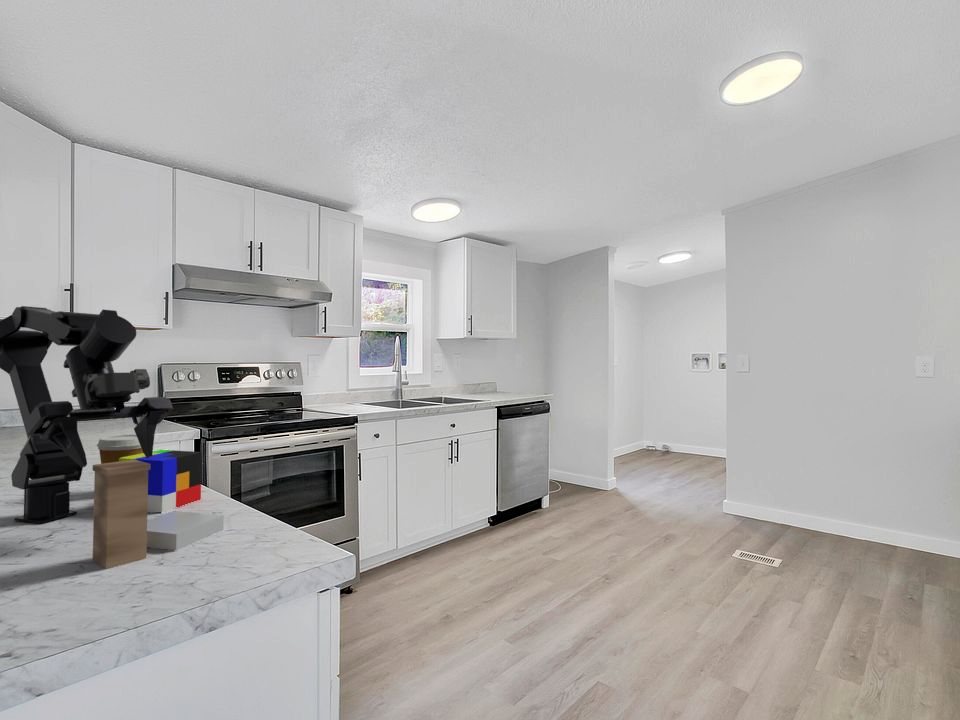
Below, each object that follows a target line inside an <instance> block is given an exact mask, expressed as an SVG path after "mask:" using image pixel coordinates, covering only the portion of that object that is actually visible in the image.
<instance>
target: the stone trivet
mask: <svg viewBox="0 0 960 720" xmlns="http://www.w3.org/2000/svg"><path fill="white" fill-rule="evenodd" d="M224 519H225V518H224V515H223V514H213V513H212V514H211V513H202V512H194V511H180V510H171V511H169V512H166V513H163V514H161V515H159V516H156V517H153V518H149V519H147V547H152V548H151V549H156V548H160V549H159V550H164V549H168V550H167V551H172V550H177V551H179V550H178V549H180V550H181V548H182V549H184V548H187V547H189V546H190V545H189V544H191V545H193V544H194V543H193V542H196V541H198V540H200V539H203V538H205V537H207V538H209V537H211V536H210V535H212V534H214V533H216V534H218V533H217V532H219V531H221V532H223V531H224ZM222 530H223V531H222ZM219 533H220V532H219ZM214 535H215V534H214ZM208 536H209V537H208ZM212 536H213V535H212ZM205 539H206V538H205ZM203 540H204V539H203ZM200 541H201V540H200ZM198 542H199V541H198ZM192 543H193V544H192ZM196 543H197V542H196ZM188 545H189V546H188ZM186 546H187V547H186ZM183 547H184V548H183Z"/></svg>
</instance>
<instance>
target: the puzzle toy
mask: <svg viewBox="0 0 960 720" xmlns="http://www.w3.org/2000/svg"><path fill="white" fill-rule="evenodd" d="M202 454H203V452H202V451H191V450H190V451H189V450H187V451H186V450H169V449H157V450H153V452H152V456H151V457H150V458H146V456H145V455H144V453H142V454H137V455H132V456H127V457H122V458H119V461H127V460H138V461H142V462H145V463H149V464H151V465H150V470H148V506H147V511H148V512H147V513H153V512H164V513H166V512H165V511H167V512H169V511H168V510H170V511H172V510H171V509H173V508H176V507H179V508H181V507H183V506H182V505H184V506H186V505H185V504H187V505H189V504H188V503H190V504H192V503H191V502H193V503H195V502H194V501H196V502H198V501H197V500H199V501H201V500H202V459H203V458H202V457H203V455H202ZM200 499H201V500H200ZM180 506H181V507H180ZM176 509H177V508H176ZM173 510H174V509H173Z"/></svg>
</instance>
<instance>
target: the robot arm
mask: <svg viewBox="0 0 960 720" xmlns="http://www.w3.org/2000/svg"><path fill="white" fill-rule="evenodd" d="M21 328H23V329H24V328H27V329H29V330H26V329H25V330H22V329H21ZM136 337H137V329H136V327H135V326H134V325H133V324H132V323H131V322H130V321H129V320H127V319H126V318H124V317H122V316H120V315H119V314H118V312H117V310H114V309H113V310H112V309H102V310H101V311H100V312H99V314H98V313H97V314H96V313H86V312H72V311H64V310H63V311H55V310H52V309H48V308H47V307H38V306H37V307H36V306H24V305H21V306H20V307H19V306H17V307H15V308H14V310H13V311H12V314H10V315H8V316H7V317H5V318H3V319H1V320H0V370H3V371H4V372H5V373H7V374H8V375H9V377H10V381H11V384H12V388H13V392H14V395H15V398H16V402H17V405H18V409H19V412H20V416H21V420H22V423H23V426H24V429H25V433H26V437H27V440H26V442H25V444H24V445H23V448H22V449H21V451H20V453H19V456H20V457H19V459H18V461H17V462H16V465H15V466H14V468H13V470H12V472H11V475H10V476H11V484H12V487H14V488H17V489H20V490H22V491H23V490H24V491H23V515H19V516H16V517H13V518H14V519H13V521H16V522H24V523H33V524H44V523H48V522H51V521H56V520H58V519H62V518H65V517H66V518H67V517H68V516H72V515H75V514H78V513H77V512H78V511H77V510H71V509H70V505H71V504H70V501H71V500H70V499H71V496H70V495H71V492H70V482H79V481H81V477H82V473H83V469H84V468H86V467H87V465H88V461H87V455H86V451H85V449H84V446H83V444H82V443H83V442H82V440H81V438H80V435H79V432H78V423H80V422H92V421H104V420H105V421H106V420H118V419H120V420H121V419H131V420H132V422H133V424H135V425H136V426H135V427H134V428H133V431H134V434H135V435H136V436H137V438H138V441H139V443H140V446H141V448H142V451H143V453H144V455H145V456H146V458H150V457H151V456H152V452H153V451H154V442H155V433H156V430H157V425H159V424H160V423H161V422H162V421H163V420H164V419H165V418H166V417H168V415H170V413H172V411H173V410H174V407H173V404H172V402H171V400H170V398H168V397H166V396H154V397H144V398H143V399H142V400H141V401H140V402H139V403H137V405H129V406H125V403H128V402H130V401H131V399H132V396H131V395H133V394H138V393H140V392H141V390H145V389H147V388H149V387H150V386H151V380H150V379H151V378H150V376H149V373H148V371H147V369H146V368H135V369H134V370H130V371H129V372H115V370H114V368H113V365H112V364H113V363H112V362H114V361H116V360H118V359H119V358H120V357H122V355H123V354H124V352H125V351H126V350H127V349H128V348H129V346H130V345H131V343H132V342H133V341H134V340H135V339H136ZM53 343H54V345H57V346H61V347H62V346H69V347H72V348H71V349H69V351H68V352H67V353H66V354H65V358H66V359H65V360H64V362H63V368H64V369H69V370H68V371H69V372H70V377H71V380H72V384H73V387H74V388H73V389H72V391H71V395H72V398H77V403H78V407H79V408H77V409H76V408H75V409H74V408H73V404H72V402H70V401H68V400H64V401H63V400H62V401H61V400H60V401H58V400H57V401H53V399H52V397H51V394H50V390H49V387H48V384H47V381H46V378H45V374H44V371H43V368H42V362H43V360H44V359H45V357H46V356H47V354H48V350H49V348H50V347H51V345H52V344H53Z"/></svg>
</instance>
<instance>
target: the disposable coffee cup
mask: <svg viewBox="0 0 960 720" xmlns="http://www.w3.org/2000/svg"><path fill="white" fill-rule="evenodd" d="M98 439H99V440H98V442H97V444H96V446H97V449H98V450H99V457H100V464H103V463H111V462H119V458H122V457H127V456H132V455H137V454H142V453H143V451H142V448H141V446H140V443H139V441H138V438H137V436H136V434H120V435H110V436H109V435H108V436H104V437H101V438H98Z"/></svg>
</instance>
